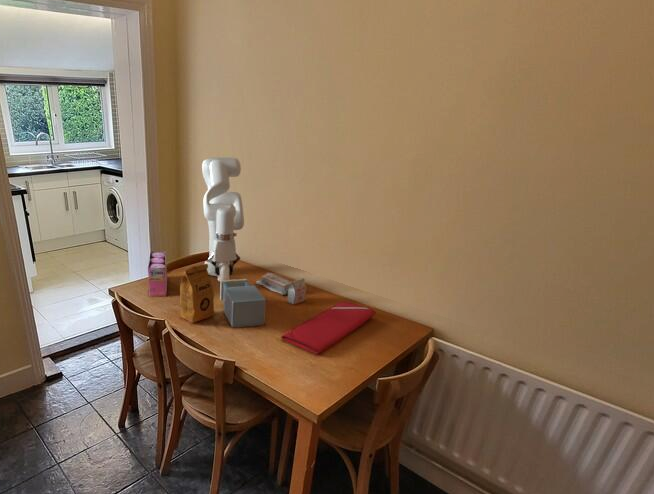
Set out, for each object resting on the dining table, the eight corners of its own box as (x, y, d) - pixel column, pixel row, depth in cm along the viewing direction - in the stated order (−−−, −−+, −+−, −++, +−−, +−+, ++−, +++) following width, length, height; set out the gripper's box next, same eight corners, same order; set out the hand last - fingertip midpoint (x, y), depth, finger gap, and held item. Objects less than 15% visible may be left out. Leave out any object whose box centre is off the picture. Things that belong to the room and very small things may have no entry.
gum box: (151, 277, 205) (150, 251, 200) (167, 276, 206) (166, 250, 200) (149, 296, 184) (147, 267, 178) (166, 296, 184) (165, 267, 178)
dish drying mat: (280, 339, 148) (280, 330, 146) (339, 306, 172) (340, 298, 171) (318, 356, 137) (319, 347, 135) (376, 318, 162) (377, 310, 160)
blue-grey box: (223, 311, 169) (224, 287, 165) (253, 308, 171) (254, 285, 166) (232, 327, 156) (233, 302, 152) (264, 324, 158) (265, 299, 153)
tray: (217, 294, 182) (217, 276, 179) (242, 292, 184) (243, 274, 180) (227, 313, 166) (227, 293, 162) (254, 310, 167) (255, 291, 163)
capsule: (215, 279, 190) (215, 263, 187) (224, 276, 193) (224, 260, 190) (222, 282, 187) (223, 266, 183) (231, 280, 189) (232, 263, 186)
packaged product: (299, 281, 185) (283, 286, 180) (298, 291, 187) (282, 296, 182) (271, 270, 199) (256, 274, 194) (270, 279, 201) (255, 283, 196)
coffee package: (217, 317, 164) (218, 265, 154) (192, 326, 157) (191, 272, 148) (202, 309, 171) (202, 259, 162) (177, 317, 165) (176, 265, 155)
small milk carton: (287, 301, 177) (289, 280, 173) (298, 298, 180) (300, 276, 176) (293, 304, 174) (295, 282, 170) (304, 300, 177) (307, 279, 173)
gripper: (241, 232, 185) (239, 269, 193) (204, 234, 183) (203, 272, 191) (245, 237, 178) (243, 276, 186) (207, 240, 176) (206, 278, 184)
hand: (223, 273), depth 189 cm, fingers closed on capsule, 5 cm apart
